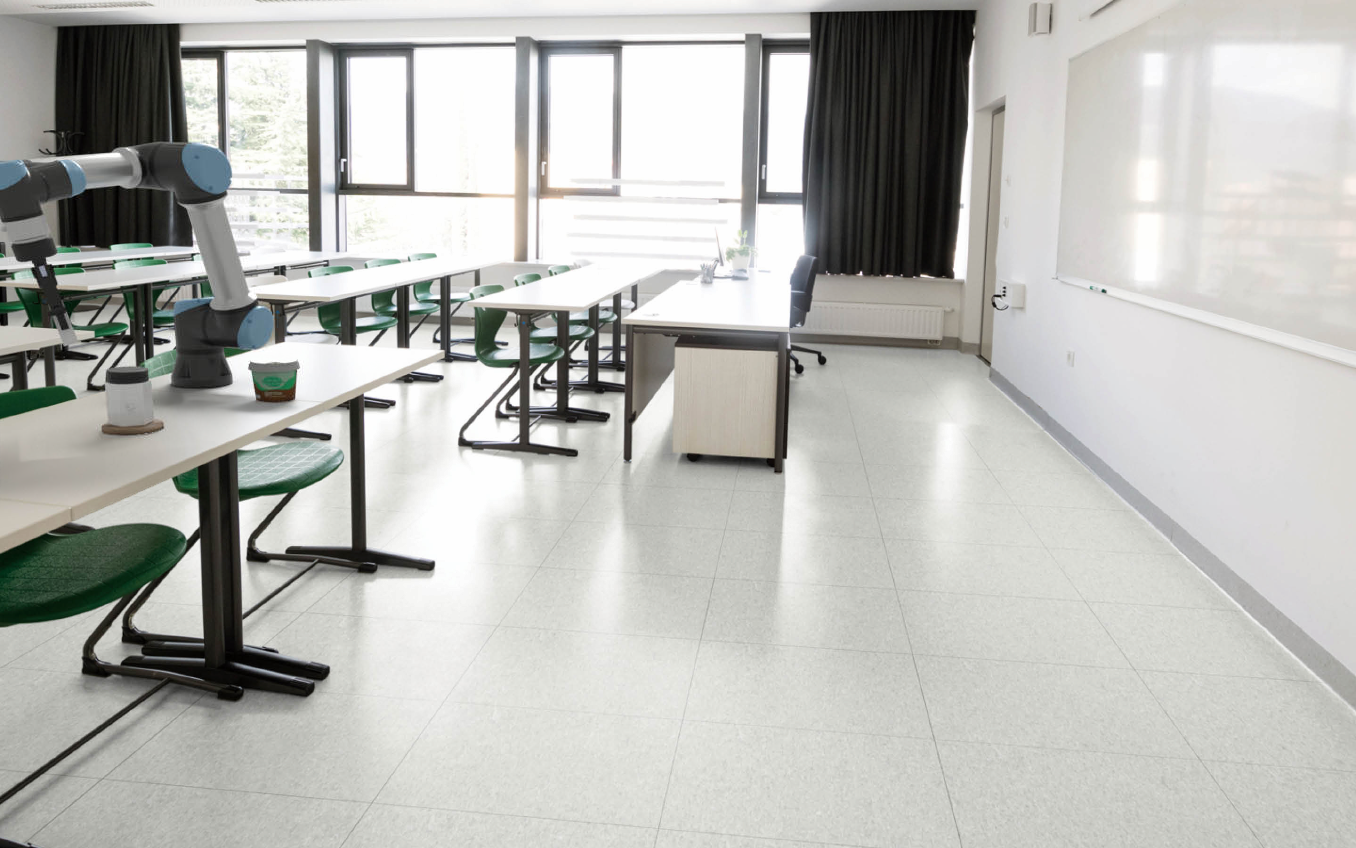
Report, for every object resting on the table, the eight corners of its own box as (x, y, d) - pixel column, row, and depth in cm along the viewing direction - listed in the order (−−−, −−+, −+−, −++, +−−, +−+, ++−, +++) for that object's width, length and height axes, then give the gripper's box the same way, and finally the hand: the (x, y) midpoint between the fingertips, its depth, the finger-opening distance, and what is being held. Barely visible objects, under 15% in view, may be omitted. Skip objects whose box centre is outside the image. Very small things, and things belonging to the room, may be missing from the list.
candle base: (100, 425, 223) (99, 421, 223) (160, 421, 230) (160, 416, 230) (103, 437, 214) (103, 432, 213) (167, 432, 220) (166, 427, 220)
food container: (252, 404, 251) (249, 364, 248) (249, 400, 256) (247, 361, 254) (304, 402, 256) (302, 363, 254) (301, 397, 262) (299, 359, 259)
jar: (110, 428, 217) (105, 373, 214) (106, 421, 224) (102, 367, 221) (156, 425, 222) (152, 371, 219) (152, 417, 229) (148, 365, 226)
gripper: (8, 236, 214) (45, 331, 222) (11, 251, 194) (52, 354, 202) (47, 228, 217) (83, 322, 226) (54, 241, 197) (93, 344, 206)
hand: (68, 337), depth 214 cm, fingers open, 13 cm apart
